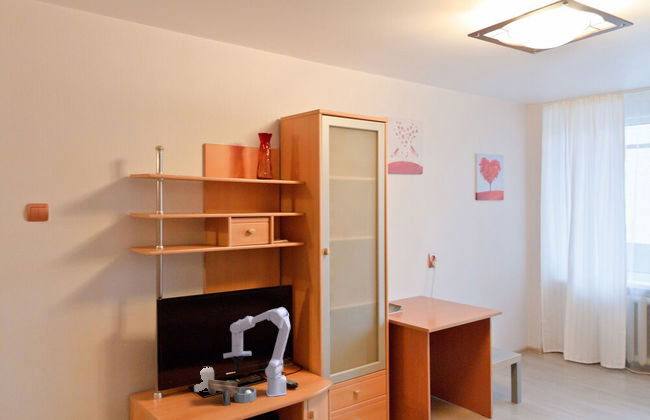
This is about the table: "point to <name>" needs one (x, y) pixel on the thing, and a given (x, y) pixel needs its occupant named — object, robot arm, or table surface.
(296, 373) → the table surface
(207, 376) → the white upright shaped piece
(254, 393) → the blue-grey round bin
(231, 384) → the tipping ramp
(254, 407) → the table surface
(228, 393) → the lever stand
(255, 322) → the robot arm
